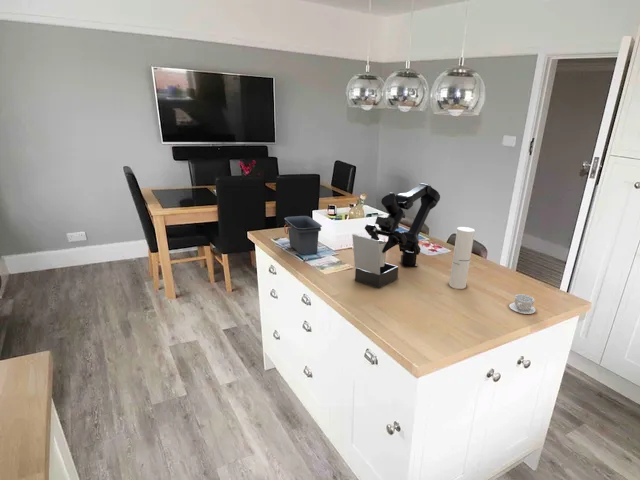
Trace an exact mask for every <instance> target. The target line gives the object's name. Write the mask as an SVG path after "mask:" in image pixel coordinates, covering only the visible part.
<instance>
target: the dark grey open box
mask: <svg viewBox="0 0 640 480" xmlns="http://www.w3.org/2000/svg"><path fill="white" fill-rule="evenodd" d="M354 268H355V269H354V271H355V272H354V274H355V275H354V281H355V282H358V283H362V284H364V285H367V286H371V287H373V288H376V289H380V288H383V287H385V286H386V285H388V284H390V283H392V282H394V281H396V280H398V278H399V277H398V275H399V266H397V265H395V264H391V263H387V262H385V266H384V267H380V275H378V274H375V273H372V272H369V271H365V270H362V269H359V268H356V267H354Z"/></svg>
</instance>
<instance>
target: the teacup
mask: <svg viewBox="0 0 640 480" xmlns="http://www.w3.org/2000/svg"><path fill="white" fill-rule="evenodd" d="M534 304H535V298H534V297H533V296H531V295H528V294H522V293H521V294H520V293H518V294H515V295H514V301H513V302H511V303H510V304H509V305H508V306H509V308H510V309H511V310H512V311H514V312H517V313H520V314H525V315H529V314H530V315H531V314H534V313H536V311H537V310H536V308H535V307H534Z"/></svg>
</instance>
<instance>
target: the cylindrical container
mask: <svg viewBox="0 0 640 480" xmlns="http://www.w3.org/2000/svg"><path fill="white" fill-rule="evenodd" d="M475 232H476V229H475V228H472V227H467V226H457V228H456V234H455V242H454V247H453V248H454V249H453V255H452V263H451V269H450V277H449V284H448V285H449V287H450V288H453V289H457V290H463V289H466V287H467V281H468V275H469V269H470V264H471V256H472V251H473V244H474V237H475Z"/></svg>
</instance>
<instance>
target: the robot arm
mask: <svg viewBox="0 0 640 480" xmlns="http://www.w3.org/2000/svg"><path fill="white" fill-rule="evenodd" d="M419 199H420V206H419V208H418V210H417V213H416V214H415V217H414V219H413V221H412V223H411V226H410V227H409V230H408V231H399V230H398V229H399V228H400V226H399V225H400V223H401V221H402V219H406V214H405V213H406V212H405V211H404V210H407V211H408V210H410V209H411V208H413V206H414V203H415V202H416V201H418V200H419ZM440 199H441V194H440V192H439V191H437V190H436V189H435V188H434V187H432V186H431V185H430V184H427V183H423V182H422V183H419V184H418V185H417V186H415V187H414V188H412V189H411V190H409V191H407V192H401V193H397V194H395V192H389V194H386V195H384V196H383V197H382V198H381V202H380V203H381V205H382V207H383V208H384V210H385V212H386V213H387V214H388V215H387V217H386V216H385V217H382V216H379V215H378V216H376V219H375V222H374V224H372V223H371V224H370V223H366V225H365V227H364V230H365V232H366V233H367V234H368V235H369V236H370V238H371V239H375V240H380V237H379V235H380V236H384V237H388V238H387V241H386V245H385V246H384V248H383V251H382V253H385V252H386V253H387V251H389V250H390V249H392V248H393V247H394V248H395V246H398V248H399V252H402V253H401V255H400V261H399V263H400V265H402V266H403V267H404V268H410V267H418V264H417V256H419V255H420V253H421V247H420V244H419V243H420V240H419V235H420V233H421V231H422V229H423V226H424V224H425V222H426V220H427V218H428V215H429V213H430V212H431V210H432V209H434V208H435V207H436V206H437V205H438V203H439V202H440V201H441V200H440ZM377 225H378V227H377ZM378 228H379V229H378Z"/></svg>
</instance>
